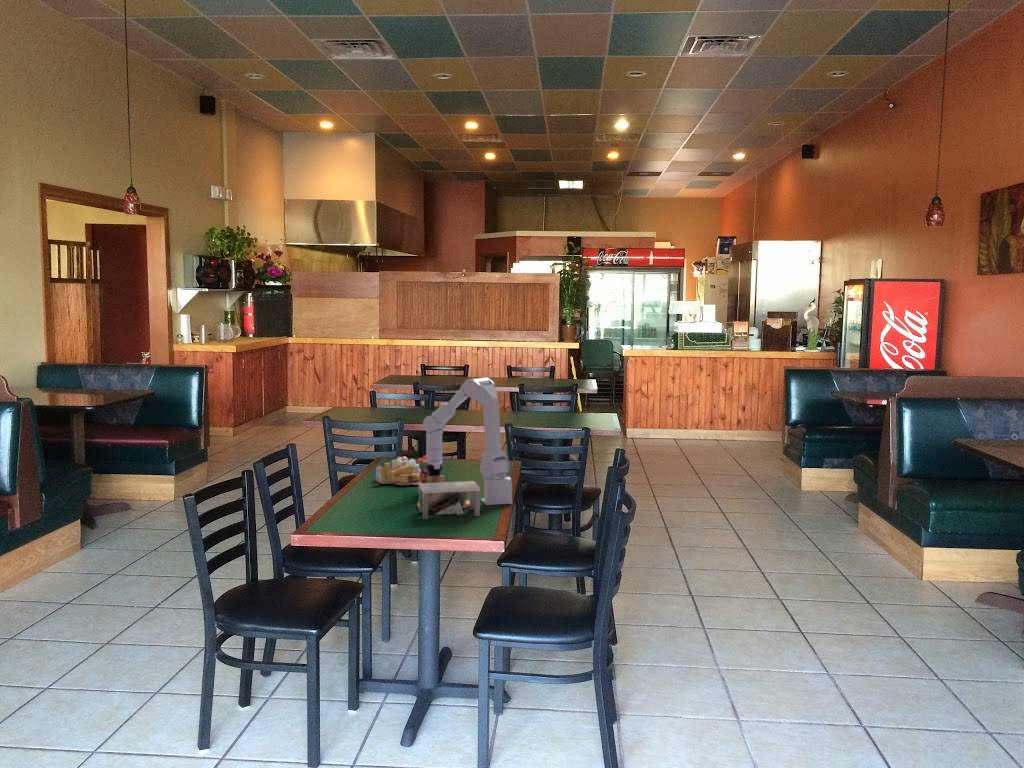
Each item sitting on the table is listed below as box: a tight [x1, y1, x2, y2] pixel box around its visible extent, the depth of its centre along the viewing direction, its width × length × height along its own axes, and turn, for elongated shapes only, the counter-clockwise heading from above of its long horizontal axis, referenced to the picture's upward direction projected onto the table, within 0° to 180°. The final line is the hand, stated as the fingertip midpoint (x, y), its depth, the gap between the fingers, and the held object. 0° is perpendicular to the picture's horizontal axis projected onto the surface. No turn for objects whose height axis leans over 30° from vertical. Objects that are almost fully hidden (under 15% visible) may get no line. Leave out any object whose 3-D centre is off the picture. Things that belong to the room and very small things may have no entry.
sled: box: [427, 474, 467, 511], centre depth 284 cm, size 13×25×6 cm, turn 14°
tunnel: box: [418, 480, 481, 520], centre depth 268 cm, size 19×10×10 cm, turn 104°
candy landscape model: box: [375, 454, 430, 486], centre depth 319 cm, size 25×24×9 cm
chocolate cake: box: [429, 492, 464, 517], centre depth 269 cm, size 10×7×12 cm
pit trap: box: [416, 499, 470, 510], centre depth 277 cm, size 18×6×1 cm, turn 104°
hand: (434, 484), depth 300 cm, fingers closed
